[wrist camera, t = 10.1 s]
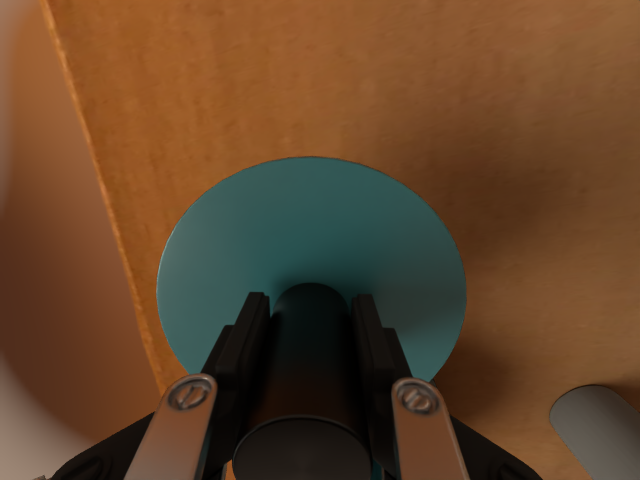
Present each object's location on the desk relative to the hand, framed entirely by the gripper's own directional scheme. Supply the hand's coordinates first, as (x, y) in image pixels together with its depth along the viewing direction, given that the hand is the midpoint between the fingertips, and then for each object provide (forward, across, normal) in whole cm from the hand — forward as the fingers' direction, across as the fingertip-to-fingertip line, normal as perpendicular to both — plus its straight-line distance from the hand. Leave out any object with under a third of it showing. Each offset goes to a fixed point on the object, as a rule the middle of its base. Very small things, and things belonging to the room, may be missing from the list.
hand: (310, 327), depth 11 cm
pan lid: (+1, 0, 0) cm, 1 cm away
